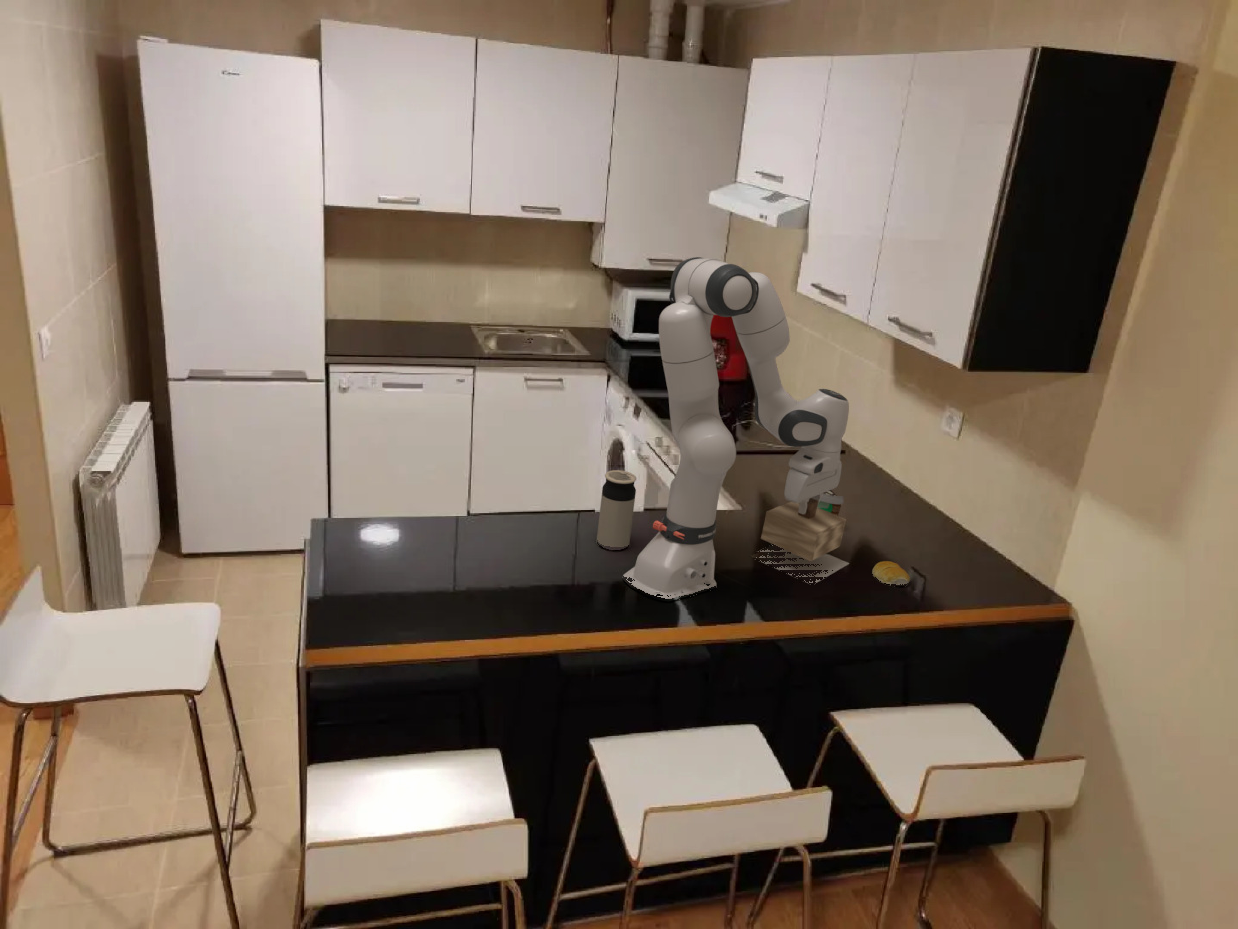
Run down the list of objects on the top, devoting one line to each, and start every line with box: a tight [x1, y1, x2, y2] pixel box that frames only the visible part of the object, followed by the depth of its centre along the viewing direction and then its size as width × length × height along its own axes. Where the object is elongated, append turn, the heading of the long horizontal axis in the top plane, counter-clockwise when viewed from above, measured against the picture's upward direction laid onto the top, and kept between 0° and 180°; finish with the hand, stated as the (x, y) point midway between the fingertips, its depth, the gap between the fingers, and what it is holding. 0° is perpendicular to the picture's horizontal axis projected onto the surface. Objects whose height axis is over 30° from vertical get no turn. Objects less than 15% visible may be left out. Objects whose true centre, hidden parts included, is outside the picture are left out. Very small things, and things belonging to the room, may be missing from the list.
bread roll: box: [871, 560, 911, 586], centre depth 222 cm, size 8×9×4 cm
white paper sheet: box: [756, 544, 850, 584], centre depth 226 cm, size 18×18×1 cm
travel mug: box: [596, 469, 637, 547], centre depth 221 cm, size 8×8×18 cm
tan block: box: [760, 498, 847, 561], centre depth 222 cm, size 14×14×11 cm
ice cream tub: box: [817, 489, 844, 516], centre depth 248 cm, size 12×6×10 cm, turn 21°
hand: (807, 511), depth 221 cm, fingers closed on tan block, 3 cm apart
